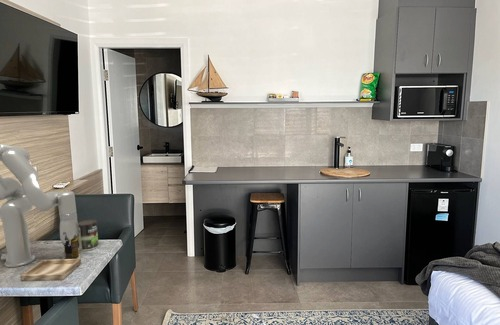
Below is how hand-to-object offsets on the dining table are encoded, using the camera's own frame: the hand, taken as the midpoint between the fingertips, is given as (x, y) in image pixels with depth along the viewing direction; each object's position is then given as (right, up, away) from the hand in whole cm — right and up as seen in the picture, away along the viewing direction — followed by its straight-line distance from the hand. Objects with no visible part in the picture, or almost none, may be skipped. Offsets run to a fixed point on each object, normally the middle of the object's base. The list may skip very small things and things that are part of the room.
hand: (72, 250), depth 173 cm
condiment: (0, -4, 0) cm, 4 cm away
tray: (-1, -6, -15) cm, 16 cm away
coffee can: (+2, -2, +13) cm, 14 cm away
